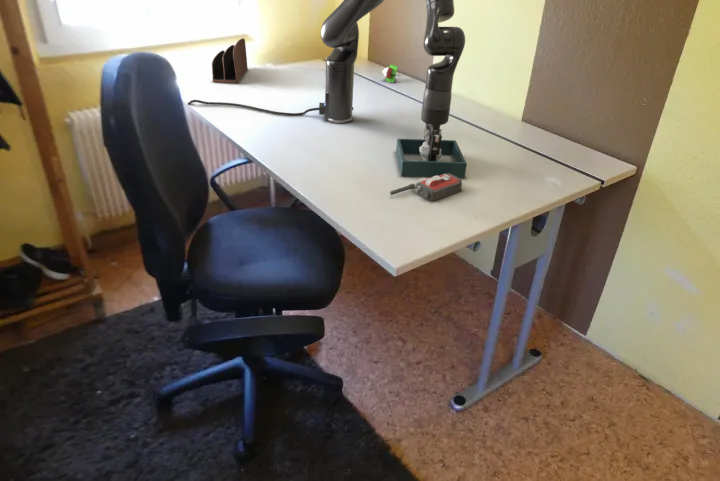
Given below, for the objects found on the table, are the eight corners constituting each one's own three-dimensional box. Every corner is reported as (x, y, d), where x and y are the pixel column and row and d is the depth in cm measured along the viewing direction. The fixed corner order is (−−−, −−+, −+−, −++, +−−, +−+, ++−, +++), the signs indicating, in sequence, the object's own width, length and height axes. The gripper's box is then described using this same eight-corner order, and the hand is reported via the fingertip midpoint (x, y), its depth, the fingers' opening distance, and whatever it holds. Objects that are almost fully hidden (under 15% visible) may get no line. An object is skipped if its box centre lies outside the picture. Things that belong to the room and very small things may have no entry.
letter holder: (247, 70, 232) (245, 35, 225) (237, 84, 215) (235, 46, 208) (224, 69, 232) (221, 34, 225) (212, 82, 215) (209, 45, 208)
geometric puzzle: (391, 72, 232) (386, 58, 226) (405, 75, 229) (400, 61, 222) (383, 85, 231) (377, 72, 224) (396, 88, 227) (391, 75, 221)
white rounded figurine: (413, 162, 159) (415, 139, 156) (434, 159, 162) (436, 136, 158) (423, 170, 155) (425, 147, 151) (444, 167, 157) (447, 144, 154)
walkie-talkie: (442, 178, 151) (387, 196, 140) (444, 163, 149) (388, 180, 138) (465, 190, 146) (410, 210, 135) (468, 175, 143) (412, 194, 132)
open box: (401, 176, 151) (402, 161, 148) (395, 152, 165) (397, 138, 162) (464, 178, 152) (466, 163, 149) (453, 154, 166) (455, 140, 163)
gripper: (419, 95, 155) (413, 150, 164) (426, 112, 142) (419, 171, 151) (445, 96, 155) (438, 151, 164) (454, 113, 143) (446, 172, 152)
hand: (429, 160), depth 158 cm, fingers closed on white rounded figurine, 6 cm apart
